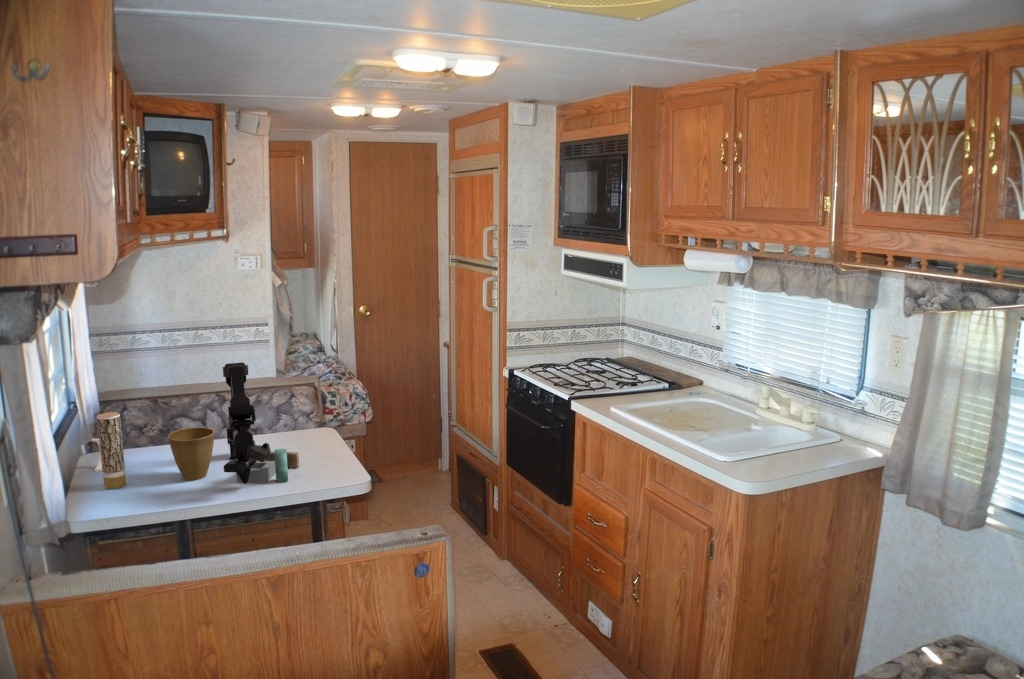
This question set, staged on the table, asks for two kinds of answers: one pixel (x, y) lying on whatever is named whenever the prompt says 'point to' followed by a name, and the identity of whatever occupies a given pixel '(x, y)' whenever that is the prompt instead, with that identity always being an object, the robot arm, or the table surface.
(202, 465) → the plant pot
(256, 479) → the socket block
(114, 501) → the table surface
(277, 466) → the dowel
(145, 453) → the table surface
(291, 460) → the backstop wall
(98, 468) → the headphone stand
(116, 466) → the brown bark cylinder
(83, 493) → the table surface
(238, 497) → the table surface
